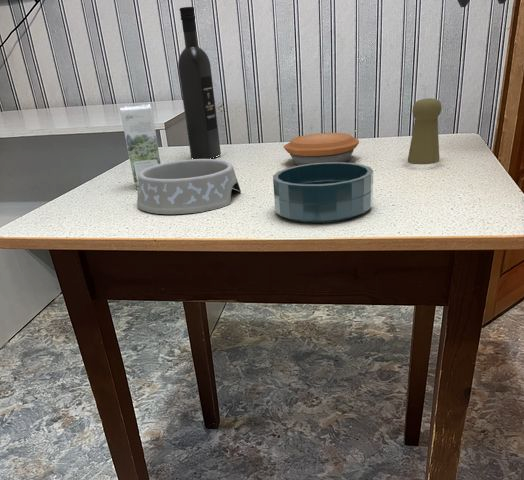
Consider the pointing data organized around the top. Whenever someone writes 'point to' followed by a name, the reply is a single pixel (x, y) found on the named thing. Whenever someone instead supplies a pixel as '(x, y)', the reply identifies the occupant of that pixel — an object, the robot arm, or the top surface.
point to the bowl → (323, 191)
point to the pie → (321, 148)
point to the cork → (425, 132)
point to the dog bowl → (186, 186)
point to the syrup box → (140, 138)
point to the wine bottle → (197, 93)
